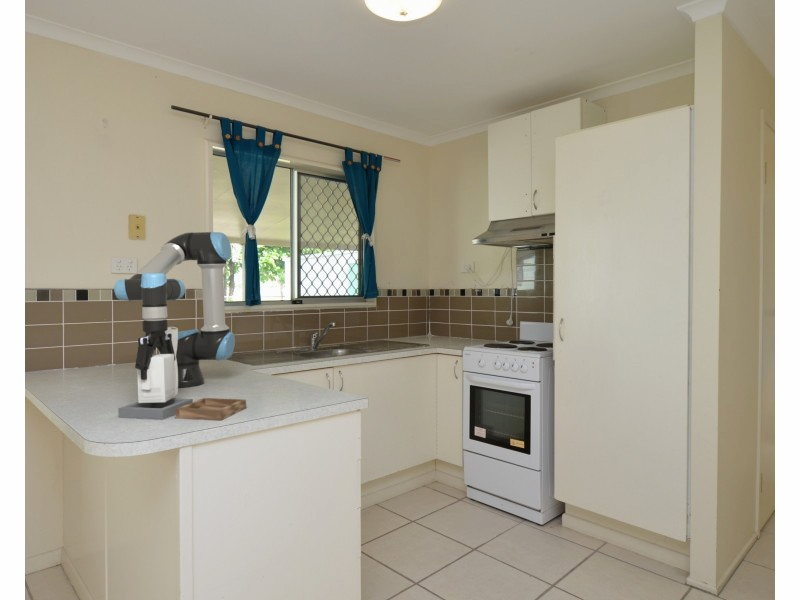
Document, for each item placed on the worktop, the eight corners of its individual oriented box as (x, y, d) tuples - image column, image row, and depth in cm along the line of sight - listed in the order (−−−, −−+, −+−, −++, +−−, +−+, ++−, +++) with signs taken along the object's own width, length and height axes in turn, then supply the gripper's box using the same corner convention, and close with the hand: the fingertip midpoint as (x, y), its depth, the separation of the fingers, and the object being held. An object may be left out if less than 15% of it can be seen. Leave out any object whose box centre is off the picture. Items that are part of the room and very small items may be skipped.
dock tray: (203, 406, 178) (203, 397, 177) (246, 408, 174) (245, 399, 174) (175, 418, 162) (175, 409, 162) (221, 420, 159) (220, 411, 159)
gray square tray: (151, 405, 179) (151, 397, 179) (192, 407, 176) (192, 398, 176) (118, 417, 164) (118, 408, 163) (162, 419, 160) (162, 410, 160)
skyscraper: (155, 398, 191) (153, 324, 190) (158, 394, 198) (157, 322, 198) (177, 396, 193) (176, 323, 192) (180, 392, 201) (179, 322, 200)
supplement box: (176, 396, 175) (175, 353, 174) (165, 402, 166) (164, 357, 165) (149, 396, 174) (148, 353, 174) (137, 403, 165) (135, 357, 165)
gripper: (166, 316, 181) (168, 378, 182) (120, 322, 159) (122, 392, 160) (185, 316, 179) (187, 379, 180) (141, 322, 157) (143, 393, 158)
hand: (157, 385), depth 170 cm, fingers closed on supplement box, 10 cm apart
